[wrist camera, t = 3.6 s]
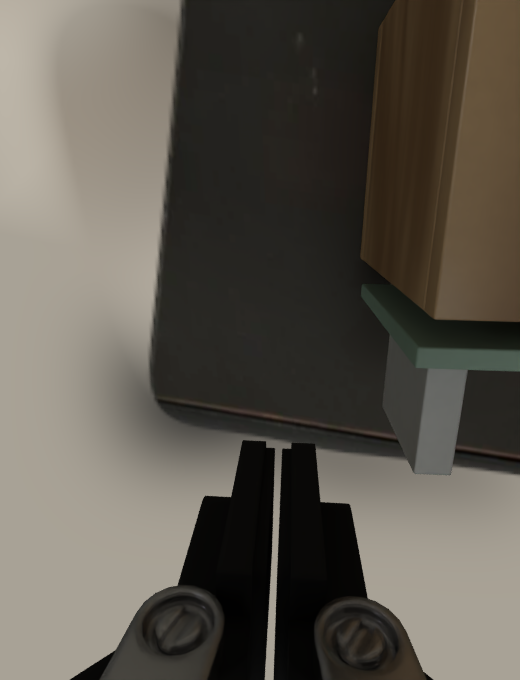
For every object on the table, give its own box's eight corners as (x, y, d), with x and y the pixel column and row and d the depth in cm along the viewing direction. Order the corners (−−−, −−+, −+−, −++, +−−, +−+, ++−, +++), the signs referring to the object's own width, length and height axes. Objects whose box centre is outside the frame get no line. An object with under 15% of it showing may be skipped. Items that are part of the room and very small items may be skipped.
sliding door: (353, 386, 22) (397, 507, 13) (361, 283, 20) (418, 347, 12) (528, 391, 21) (686, 519, 13) (549, 288, 20) (742, 356, 12)
